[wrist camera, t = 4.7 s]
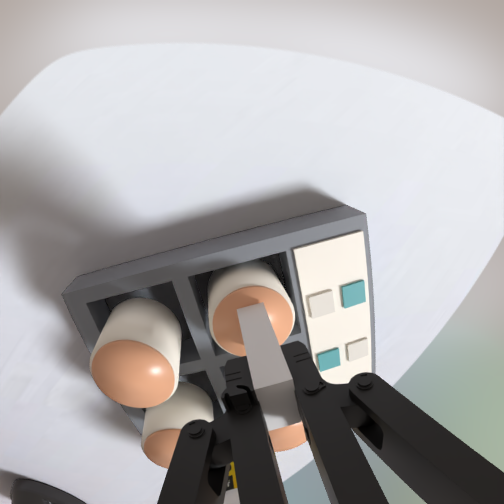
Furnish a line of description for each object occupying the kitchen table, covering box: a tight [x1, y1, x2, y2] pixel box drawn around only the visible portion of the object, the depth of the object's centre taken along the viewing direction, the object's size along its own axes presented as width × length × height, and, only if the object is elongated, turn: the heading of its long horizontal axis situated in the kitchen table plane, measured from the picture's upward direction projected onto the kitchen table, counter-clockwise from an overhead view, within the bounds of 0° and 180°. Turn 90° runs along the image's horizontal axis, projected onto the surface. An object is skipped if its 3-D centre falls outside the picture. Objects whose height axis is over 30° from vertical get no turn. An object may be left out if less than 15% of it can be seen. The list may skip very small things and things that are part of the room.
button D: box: [207, 258, 295, 357], centre depth 20 cm, size 5×5×5 cm
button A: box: [141, 381, 214, 469], centre depth 20 cm, size 5×5×5 cm
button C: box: [268, 420, 306, 452], centre depth 20 cm, size 5×5×5 cm
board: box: [62, 205, 375, 435], centre depth 22 cm, size 20×15×3 cm
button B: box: [89, 297, 182, 408], centre depth 18 cm, size 5×5×5 cm
